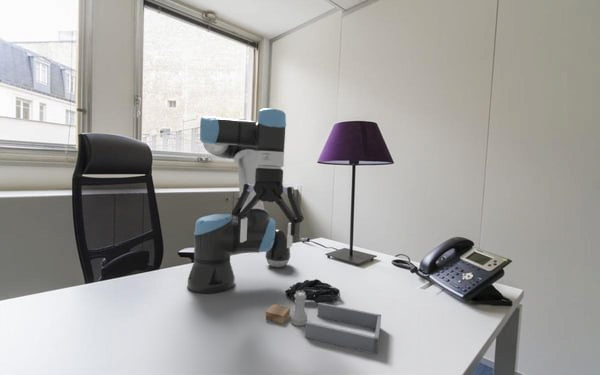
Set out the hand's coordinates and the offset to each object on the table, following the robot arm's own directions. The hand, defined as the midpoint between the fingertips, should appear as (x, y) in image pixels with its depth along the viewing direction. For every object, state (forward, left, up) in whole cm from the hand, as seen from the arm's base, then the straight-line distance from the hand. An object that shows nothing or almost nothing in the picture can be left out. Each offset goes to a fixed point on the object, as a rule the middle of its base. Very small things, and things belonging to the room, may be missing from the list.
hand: (265, 244), depth 82 cm
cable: (+9, +16, -20) cm, 27 cm away
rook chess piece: (+11, -2, -19) cm, 22 cm away
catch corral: (+23, -2, -19) cm, 30 cm away
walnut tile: (+5, -2, -19) cm, 20 cm away
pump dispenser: (-12, +37, -19) cm, 43 cm away
